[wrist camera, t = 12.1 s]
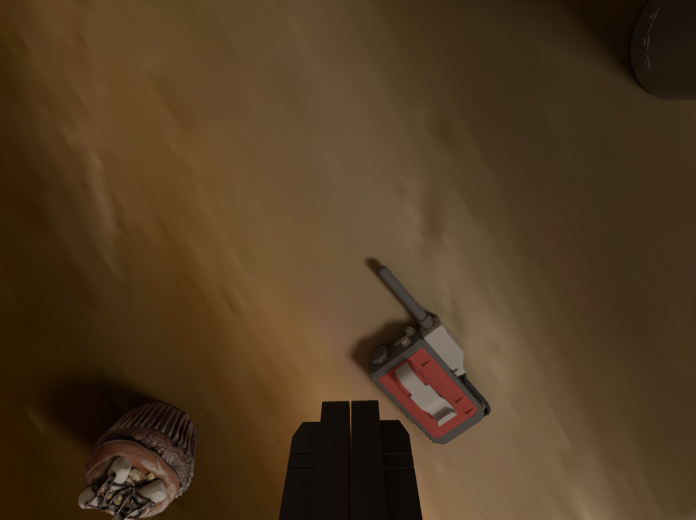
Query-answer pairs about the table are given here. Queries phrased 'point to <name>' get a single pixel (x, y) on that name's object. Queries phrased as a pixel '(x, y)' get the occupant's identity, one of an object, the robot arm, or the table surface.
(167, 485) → the cupcake
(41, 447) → the table surface
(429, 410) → the walkie-talkie
